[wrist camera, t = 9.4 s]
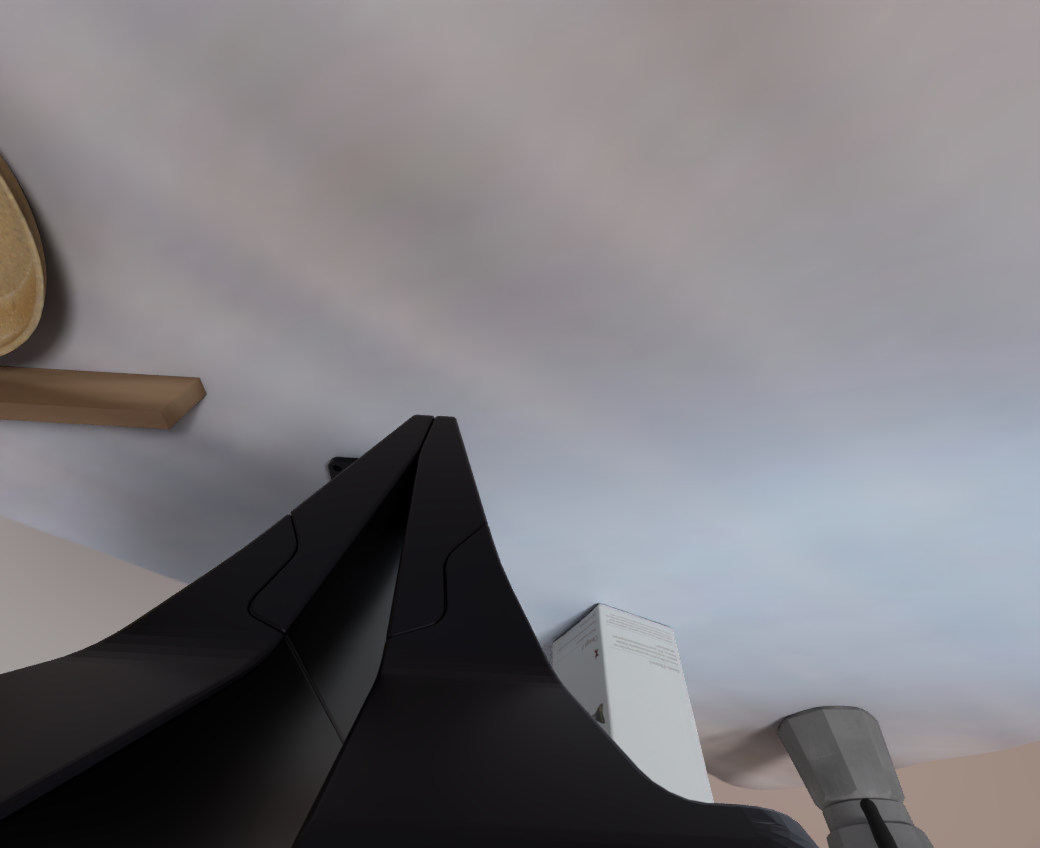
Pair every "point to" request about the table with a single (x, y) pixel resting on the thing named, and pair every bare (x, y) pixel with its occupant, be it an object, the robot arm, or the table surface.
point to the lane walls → (96, 397)
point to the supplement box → (636, 695)
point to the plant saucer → (18, 265)
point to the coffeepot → (850, 778)
